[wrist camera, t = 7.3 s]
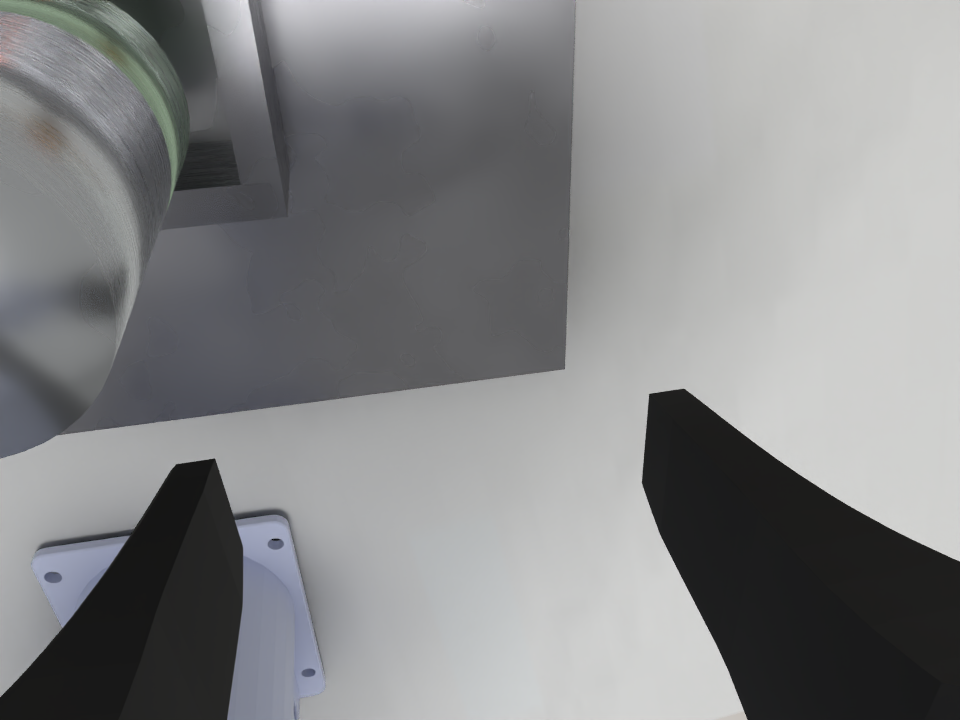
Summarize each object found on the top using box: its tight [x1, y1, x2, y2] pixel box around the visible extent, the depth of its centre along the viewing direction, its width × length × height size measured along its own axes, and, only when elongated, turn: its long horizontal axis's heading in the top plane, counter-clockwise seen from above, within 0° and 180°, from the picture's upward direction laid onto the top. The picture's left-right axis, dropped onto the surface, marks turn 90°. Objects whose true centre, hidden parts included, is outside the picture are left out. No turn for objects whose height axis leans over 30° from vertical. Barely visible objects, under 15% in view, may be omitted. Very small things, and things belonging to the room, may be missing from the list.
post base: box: [58, 0, 576, 435], centre depth 17 cm, size 20×20×4 cm
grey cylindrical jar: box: [0, 0, 190, 458], centre depth 11 cm, size 4×4×6 cm
